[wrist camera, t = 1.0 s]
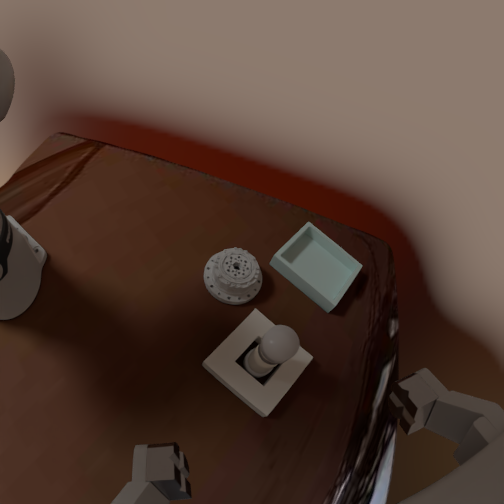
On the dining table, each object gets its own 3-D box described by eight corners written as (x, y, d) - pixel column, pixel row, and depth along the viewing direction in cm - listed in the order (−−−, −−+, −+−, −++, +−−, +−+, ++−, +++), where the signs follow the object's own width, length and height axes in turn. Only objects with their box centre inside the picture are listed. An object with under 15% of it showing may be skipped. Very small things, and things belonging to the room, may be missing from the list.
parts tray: (269, 263, 56) (274, 255, 53) (303, 230, 63) (308, 221, 60) (327, 313, 53) (335, 306, 50) (355, 273, 60) (362, 265, 57)
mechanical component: (197, 297, 49) (255, 311, 50) (199, 284, 45) (263, 300, 47) (210, 248, 55) (263, 262, 56) (214, 234, 51) (270, 249, 52)
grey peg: (237, 364, 44) (257, 342, 34) (254, 345, 46) (279, 318, 37) (258, 383, 43) (285, 366, 33) (275, 363, 46) (306, 340, 36)
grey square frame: (201, 365, 43) (203, 361, 41) (251, 314, 49) (255, 308, 47) (262, 417, 40) (267, 416, 38) (306, 361, 47) (313, 357, 45)
